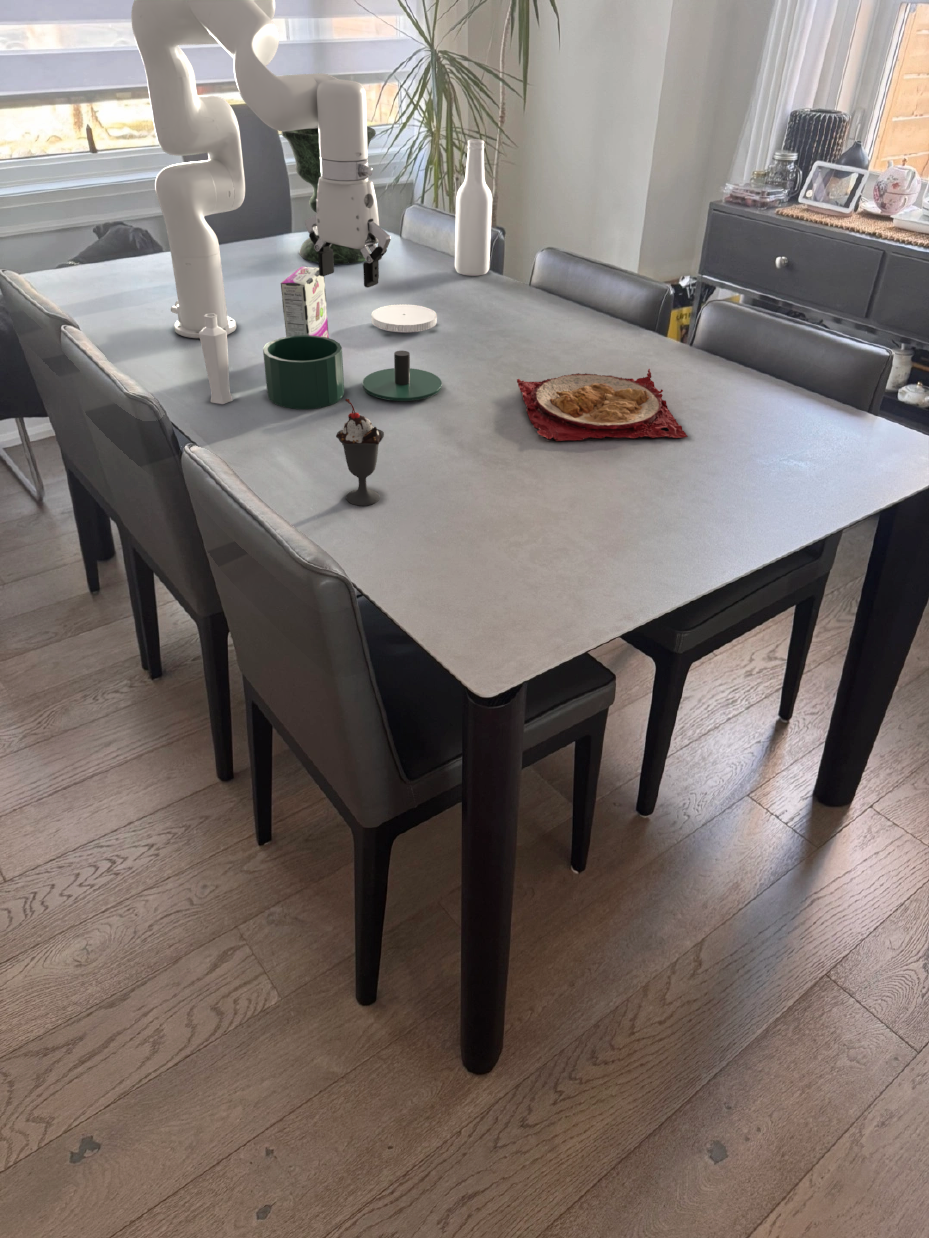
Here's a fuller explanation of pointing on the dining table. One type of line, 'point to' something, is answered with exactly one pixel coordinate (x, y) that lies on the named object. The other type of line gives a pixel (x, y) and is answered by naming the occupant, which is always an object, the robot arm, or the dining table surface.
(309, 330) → the candy bar box
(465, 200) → the alcohol
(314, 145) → the goblet
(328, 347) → the tin
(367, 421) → the sundae
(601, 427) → the plate with food
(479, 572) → the dining table surface
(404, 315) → the plastic lid
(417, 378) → the lid
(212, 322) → the perfume bottle
